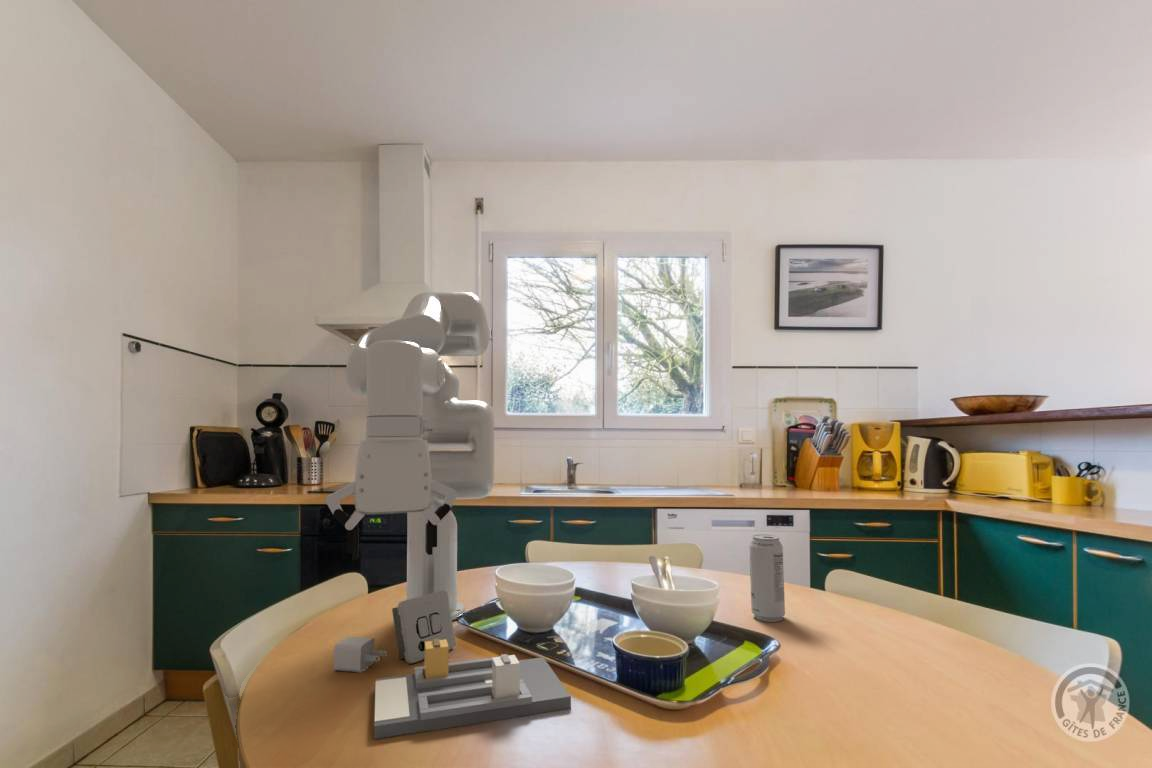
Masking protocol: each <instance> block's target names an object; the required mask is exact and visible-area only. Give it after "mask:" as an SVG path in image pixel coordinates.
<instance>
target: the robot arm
mask: <svg viewBox="0 0 1152 768" xmlns="http://www.w3.org/2000/svg"><path fill="white" fill-rule="evenodd" d="M488 324H489V323H488V319H487V315H486V310H485V307H484V304H483V303H482V301H481V299H480V298H479V297H478V296H477V295H476V294H475V293H473V292H468V291H467V292H466V291H427V292H422V293H419V294H417V295H415V296H413V297H412V298H411V300H410V301H409V303H407V306H406V308H405V310H404V312H403V314H402V316H401V318H399V319H396V320H392V321H390V322H388V323H386V324H383V325H380V326H378V327H374V328H372V329H371V330H369V331H367V332H365V333H363V334H362V335H361V336H360V337H359V338H358V339H357V341H356V343H355V345H353V348H352V350H351V352H350V353H349V355H348V356H349V357H348V359H347V362H346V367H345V376H346V377H345V378H346V382H347V385H348V387H349V388H350V390H351V391H352V392H353V393H354V394H355V395H357V396H360V397H365V398H366V399H365V400H366V403H365V404H366V405H365V406H366V410H365V416H366V418H365V440H360V441H359V444H358V448H357V449H358V450H357V456H356V462H355V474H354V475H355V477H354V481H353V482H352V483H351V482H350V484H348V485H346V486H344V487H342V488H340V489H338V490H336V491H334V492H333V493H330V494H328V495H327V496H326V497H325V503H326V505H327V506H328V509H329V510H330V512H331V513H332V515H333V517H334V519H336V521H338V522H339V523H340V524H341V525H342V526H343V527H344V528H345V529H346V530H347V532H346V533H347V534H346V535H347V537H346V538H347V539H346V550H347V551H346V553H347V554H352V558H351V559H352V561H353V562H354V561H357V560H359V557H360V556H359V555H360V553H359V551H360V550H359V548H360V547H359V546H360V545H359V543H360V542H359V541H360V527H359V526H358V523H359V522H360V521H361V520H362V519H363V518H364V517H365V515H390V514H407V515H406V516H407V517H406V518H407V520H406V521H407V525H406V526H407V528H406V529H407V533H406V534H407V536H406V537H407V538H406V542H407V546H406V548H407V549H406V553H407V554H406V600H409V599H412V598H416V597H420V596H423V595H427V594H431V593H434V592H438V591H446V592H447V594H448V600H449V605H450V611H451V617H452V621H454V620H456V619H458V618H457V616H459V615H460V614H462V613H464V612H466V606H465V605H464V603H462V602H460V601H457V600H458V591H457V590H458V523H457V519H456V516H455V515H454V513H453V511H452V510H451V508H452V507H453V504H454V503H455V501H456V500H478V499H479V500H480V499H484V498H486V497H488V496H489V495H491V492H492V490H493V487H494V478H495V476H494V474H495V421H494V413H493V411H492V408H491V406H490V405H489V404H488V403H487V402H485V401H483V400H479V399H478V400H475V399H474V400H473V399H472V400H470V399H469V400H466V399H465V400H464V399H463V400H462V399H461V400H459V391H460V390H459V389H460V388H459V387H460V381H459V379H458V377H457V374H455V372H454V371H453V370H452V368H451V367H450V366H449V365H448V364H447V363H446V362H444V360H443V359H442V358H441V357H478V356H482V355H483V354H484V353H485V352H486V351H487V349H488V347H489V343H490V330H489V325H488ZM429 447H438V448H440V447H443V448H447V447H448V448H449V447H450V448H451V447H453V448H454V447H459V448H461V447H462V448H463V447H465V448H466V447H467V448H470V450H430V449H429ZM353 494H354V495H353ZM352 495H353V497H354V498H353V500H354V508H355V510H354V511H353V512H352V513H351V515H349V514H348V513H347V512H346V511H344V509H342V506H341V505H340V501H341V500H343V499H345V498H346V497H349V496H352ZM464 614H465V613H464Z"/></svg>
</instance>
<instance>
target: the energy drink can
mask: <svg viewBox="0 0 1152 768" xmlns="http://www.w3.org/2000/svg"><path fill="white" fill-rule="evenodd" d="M749 568H750V569H749V573H750V576H749V577H750V601H751V602H750V603H751V605H750V606H751V610H750V611H751V613H752V614H753V615H754V618H755V619H756V620H758V621H763V622H765V623H767V622H769V623H774V622H775V623H776V622H780V621H782V620H783V617H784V616H785V615H786V607H785V605H786V604H785V603H786V602H785V580H784V579H785V577H784V575H785V574H784V573H785V571H784V546H783V544H782V543H781V541H780V537H779V536H778V535H773V534H754V535H752V540H751V542H750V543H749Z"/></svg>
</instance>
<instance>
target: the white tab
mask: <svg viewBox="0 0 1152 768" xmlns="http://www.w3.org/2000/svg"><path fill="white" fill-rule="evenodd" d="M508 655H509V654H507V653H505V654H503V653H502V654H500V656H501V657H500V656H494V657H493V658H492V657H491V658H492V694H493V696H494V699H495V698H502V697H509V696H516V695H520V663H519V661H518V660H519V659H518V658H517V656H516V655H515V654H511V655H509V656H508Z"/></svg>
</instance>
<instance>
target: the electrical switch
mask: <svg viewBox="0 0 1152 768" xmlns="http://www.w3.org/2000/svg"><path fill="white" fill-rule="evenodd" d="M391 612H392V618H393V624H394V631H395V638H396V645H397V651H398V657H399V659H400V660H401V659H402V660H403V659H405V662H406V663H407V664H408V665H411V664H414V663H417V662H420V661H424V660H425V642H427V641H433V639H438V638H439V640H444V639H446V640H447V643H448V646H449V651H450V650H453V649H454V648H456V644H457V641H456V635H455V630H454V625H453V624H454V623H453V620H452V617H451V611H450V605H449V600H448V594H447V592H446V591H438V592H434V593H431V594H427V595H423V596H420V597H416V598H412V599H409V600H407V599H405V600H401V601H400V602H398V605H397V607H393V608H392V609H391Z"/></svg>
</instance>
